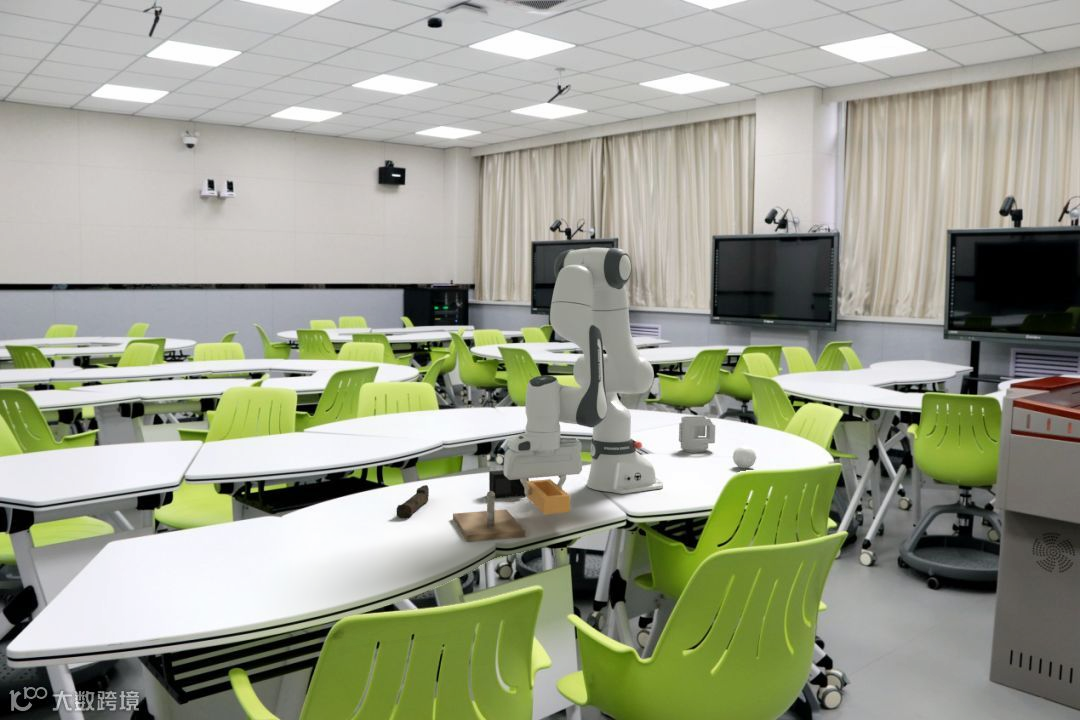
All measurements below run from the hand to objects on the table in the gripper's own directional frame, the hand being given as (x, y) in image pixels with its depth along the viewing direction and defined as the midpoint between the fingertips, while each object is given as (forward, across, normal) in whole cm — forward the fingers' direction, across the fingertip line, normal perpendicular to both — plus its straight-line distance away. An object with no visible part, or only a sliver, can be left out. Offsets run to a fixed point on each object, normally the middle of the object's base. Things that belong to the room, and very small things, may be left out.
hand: (543, 493), depth 210 cm
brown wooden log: (+7, +31, -17) cm, 36 cm away
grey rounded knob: (+8, -80, -35) cm, 87 cm away
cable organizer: (+9, -77, -61) cm, 99 cm away
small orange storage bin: (+2, 0, +4) cm, 4 cm away
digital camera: (+7, +3, -22) cm, 24 cm away
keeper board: (+6, +16, +4) cm, 17 cm away
